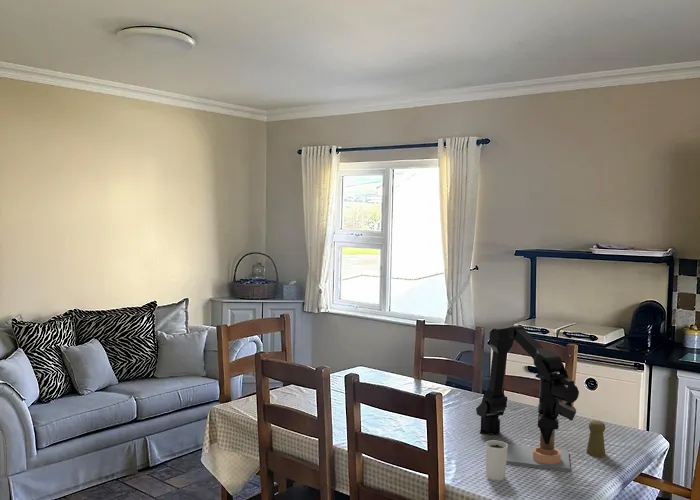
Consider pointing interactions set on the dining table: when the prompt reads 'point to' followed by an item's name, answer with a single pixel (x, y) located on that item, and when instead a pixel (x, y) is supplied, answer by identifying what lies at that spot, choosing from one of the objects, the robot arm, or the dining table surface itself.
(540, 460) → the terracotta ring
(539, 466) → the slate board
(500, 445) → the white cup
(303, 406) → the dining table surface
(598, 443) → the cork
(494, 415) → the robot arm
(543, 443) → the walnut cylinder
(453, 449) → the dining table surface
